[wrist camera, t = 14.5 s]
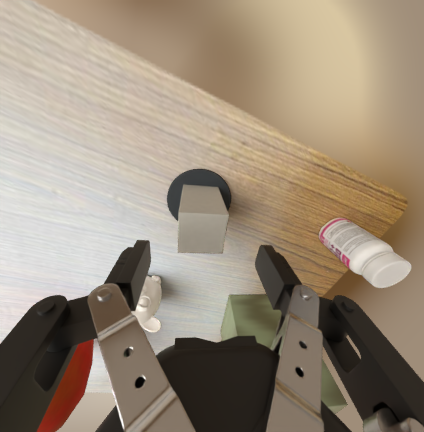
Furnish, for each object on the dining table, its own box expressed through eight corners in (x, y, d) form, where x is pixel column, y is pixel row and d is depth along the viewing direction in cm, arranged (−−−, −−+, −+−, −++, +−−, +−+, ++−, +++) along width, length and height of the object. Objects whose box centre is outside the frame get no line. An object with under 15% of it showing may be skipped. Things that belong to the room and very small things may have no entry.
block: (218, 186, 20) (229, 214, 14) (214, 217, 21) (222, 253, 15) (183, 184, 19) (178, 212, 13) (182, 215, 21) (177, 252, 15)
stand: (287, 294, 31) (348, 404, 19) (271, 328, 36) (310, 433, 24) (228, 294, 30) (253, 415, 17) (220, 330, 35) (235, 443, 22)
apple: (121, 312, 29) (68, 450, 17) (98, 345, 33) (41, 476, 21) (37, 289, 25) (-116, 451, 13) (22, 331, 29) (-104, 484, 17)
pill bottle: (310, 235, 25) (359, 282, 18) (336, 210, 23) (403, 251, 16) (330, 248, 27) (383, 295, 19) (356, 225, 25) (424, 268, 18)
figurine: (172, 278, 26) (166, 320, 21) (159, 303, 29) (150, 347, 23) (119, 264, 24) (95, 307, 18) (109, 292, 27) (86, 339, 21)
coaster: (235, 171, 19) (235, 172, 19) (225, 228, 23) (225, 229, 23) (167, 165, 18) (166, 166, 18) (167, 225, 22) (167, 227, 22)
